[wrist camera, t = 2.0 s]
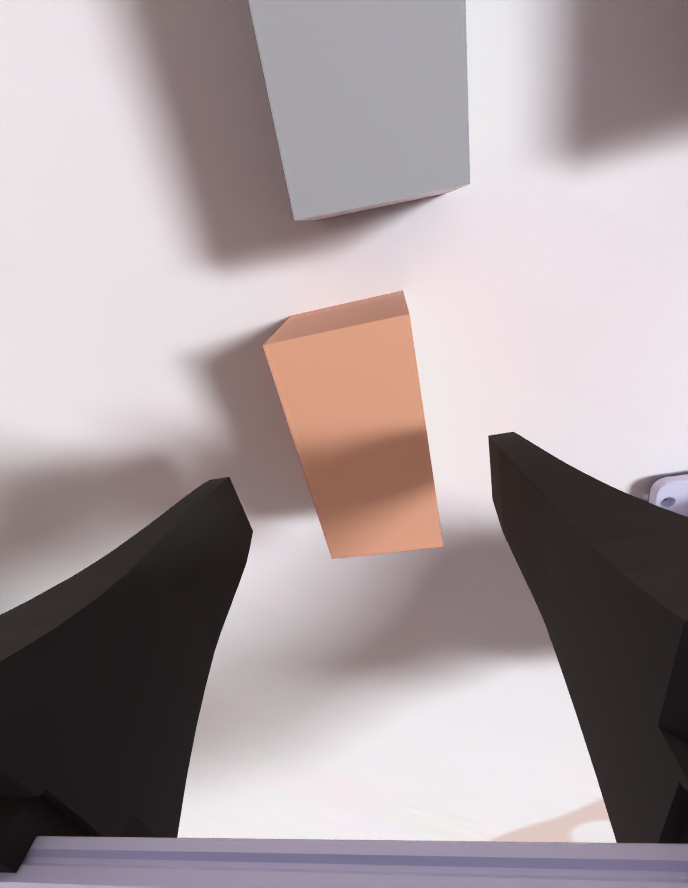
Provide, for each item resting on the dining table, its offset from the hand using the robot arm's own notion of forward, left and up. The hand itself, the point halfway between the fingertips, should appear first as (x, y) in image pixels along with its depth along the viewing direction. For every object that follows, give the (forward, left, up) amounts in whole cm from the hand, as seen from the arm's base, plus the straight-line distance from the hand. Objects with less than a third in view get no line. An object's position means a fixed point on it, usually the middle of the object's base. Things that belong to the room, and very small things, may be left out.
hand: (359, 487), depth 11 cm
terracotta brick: (0, 0, -6) cm, 6 cm away
